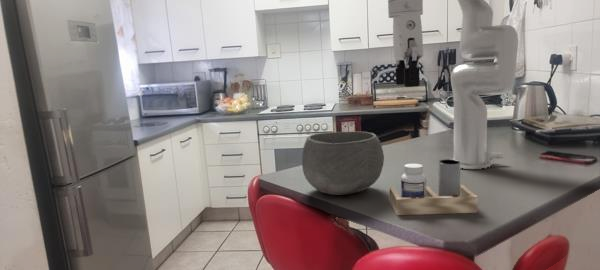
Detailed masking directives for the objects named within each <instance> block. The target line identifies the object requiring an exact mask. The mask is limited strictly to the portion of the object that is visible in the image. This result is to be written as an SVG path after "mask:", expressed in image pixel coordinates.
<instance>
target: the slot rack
mask: <svg viewBox="0 0 600 270" xmlns="http://www.w3.org/2000/svg"><path fill="white" fill-rule="evenodd" d="M478 201H479V197H478V195H476V194H475V193H473V192H472V191H471V190H470V189H469V188H467V187H466V186H465V185H464V184H460V196H458V195H452V196H439V195H437V194H436V193H435V192H434V191H433V190H432V188H431V187H429V186H428V185H426V197H424V196H418V197H416V196H411V197H404V198H401V195H399V193H398V191H397V190H396V188H395V187H389V202H390V204H391V206H392V209H393V211H394V212H395V214H396V215H397V216H407V215H408V216H410V215H442V214H444V215H445V214H449V215H450V214H474V213H475V214H478V205H479V203H478Z"/></svg>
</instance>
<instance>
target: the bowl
mask: <svg viewBox="0 0 600 270" xmlns="http://www.w3.org/2000/svg"><path fill="white" fill-rule="evenodd" d="M301 156H302V157H301V161H302V162H301V165H302V173H303V175H304V177H305V179H306V181H307V182H308V184H309V185H311V186H312V187H313V188H314V189H315V190H316V191H319V192H320V193H323V194H328V195H333V196H342V195H352V194H355V193H358V192H362V191H364V190H366V189H369V188H370V187H371V186H373V185H374V184H375V183H376V182H377V181H378V179H379V178H380V176H381V174H382V170H383V168H384V167H383V166H384V164H385V163H384V161H385V154H384V150H383V146H382V143H381V140H380V139H379V138H378V136H377V135H376V134H375V133H374V132H368V131H334V132H333V131H332V132H318V133H314V134H311V135H308V136H307V138H306V139H305V143H304V144H303V149H302V154H301Z"/></svg>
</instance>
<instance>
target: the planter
mask: <svg viewBox="0 0 600 270" xmlns="http://www.w3.org/2000/svg"><path fill="white" fill-rule="evenodd" d="M450 159H451V158H450ZM450 159H448V158H447V159H441V160H438V196H452V195H458V196H460V185H461V168H460V161H458V160H450Z"/></svg>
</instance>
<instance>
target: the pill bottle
mask: <svg viewBox="0 0 600 270" xmlns="http://www.w3.org/2000/svg"><path fill="white" fill-rule="evenodd" d="M403 169H404V173H403V174H402V175H401V178H400V179H401V182H400V183H401V185H400V186H401V187H400V192H401V195H400V198H404V197H411V196H416V197H418V196H424V197H426V186H427V178H426V177H427V176H426V175H424V174H423V172H424V165H423V164H420V163H407V164H404V168H403Z"/></svg>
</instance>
